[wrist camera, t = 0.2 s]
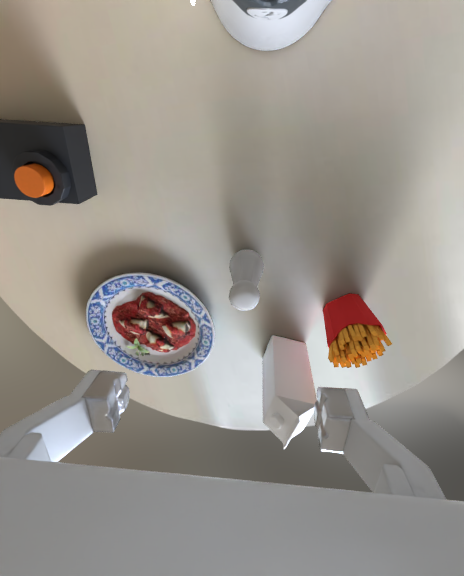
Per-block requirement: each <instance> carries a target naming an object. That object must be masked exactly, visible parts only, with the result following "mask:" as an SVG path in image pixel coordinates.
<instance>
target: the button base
mask: <svg viewBox="0 0 464 576" xmlns="http://www.w3.org/2000/svg"><path fill="white" fill-rule="evenodd" d="M29 164H39V165H42V166H44V167H45V168H46V169H47V170H48V171H49V172H50V173H51V175H52V177H53V179H54V188H53V190H52V191H51V192H50V193H49V194H46V195H43V196H41V197H38V198H32V197H29V196H27V195H25V194H24V193H22V192H21V191H20V189H19V188H18V187H17V185H16V183H15V179H14V174H15V171H16V169H17V168H19V167H21V166H25V165H29ZM95 195H97V190H96V185H95V179H94V174H93V168H92V162H91V157H90V151H89V146H88V140H87V134H86V129H85V125H84V124H69V123H52V122H36V121H19V120H3V119H0V198H3V199H17V200H31V201H33V202H35V203H37V204H39V205H54V204H56V203H72V204H80V203H82V202H84V201H86V200H88V199H90V198H92V197H93V196H95Z"/></svg>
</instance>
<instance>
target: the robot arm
mask: <svg viewBox="0 0 464 576" xmlns="http://www.w3.org/2000/svg"><path fill="white" fill-rule="evenodd" d="M210 1H211V3H212V5H213V7H214V9H215V11H216V14H217V16H218V18H219V19H220V21H221V23H222V24H223V26H224V27H225V29H226V30H227V31H228V32H229V33H230V34H231V35H232V36H233V37H234V38H235V39H236V40H237V41H239V42H240V43H242V44H243V45H245V46H247V47H250V48H252V49H256V50H261V51H272V50H278V49H281V48H284V47H287V46H289V45H291V44H293V43H294V42H296V41H297V40H299V39H300V38H301V37H303V36H304V35H305V34H306V33H307V32H308V31H309V30H310V29H311V28H312V26H313V25H314V24H315V23H316V21H317V20H318V18H319V17H320V15H321V14H322V12H323V11H324V9H325V8H326V7H327V5H328V4H329V3H330V2H331V1H332V0H210ZM190 3H191V4H192V5H195V0H190ZM127 380H128V379H127V375H126V373H123V372H113V371H100V370H90V371H88V372H87V373H86V375H85V376H84V377H83V379H82V380H81V381H80V382H79V384H78V385H77V386H76V388H75V389H74V390H73V391H72V393H71V394H70V395H69V396H65V397H63V398H61V399H59V400H58V401H55V402H54V403H52V404H50V405H48V406H46V407H44V408H43V409H41V410H39V411H37V412H35V413H33V414H31V415H30V416H28V417H26V418H24V419H22V420H21V421H19V422H17V423H15V424H13V425H11V426H9V427H8V428H6V429H4V430H3V432H2V433H1V434H0V576H464V501H454V500H446V498H445V496H444V494H443V492H442V490H441V489H440V487H439V485H438V483H437V481H436V479H435V477H434V475H433V474H432V472H431V470H430V468H429V467H428V466H427V465H426V464H424V463H423V462H422V461H421V460H420V459H418V458H417V457H416V456H415V455H414V454H413V453H411V452H410V451H409V450H408V449H407V448H406V447H404V446H403V445H402V444H401V443H400V442H398V441H397V440H396V439H395V438H394V437H392V436H391V435H390V434H389V433H387V432H386V431H385V430H384V429H383V428H382V427H380V426H379V425H378V424H377V423H376V422H375V421H370V419H369V417H368V414H367V412H366V409H365V407H364V405H363V402H362V400H361V397H360V395H359V392H358V390H356V389H348V388H329V387H318V389H317V398H318V400H317V401H316V402H315V406H314V420H315V426H316V427H317V428H318V429H319V431H318V441H319V445H320V450H321V451H326V452H334V453H343V455H344V457H345V458H346V459H347V460H348V462H349V463H350V464H351V465H352V467H353V468H354V469H355V470H356V472H357V473H358V474H359V475H360V477H361V478H362V479H363V480H364V482H365V483H366V484H367V485H368V486H369V488H370V489H371V490H372V492H373V493H371V492H361V491H350V490H340V489H329V488H318V487H309V486H298V485H288V484H277V483H266V482H256V481H246V480H236V479H225V478H215V477H205V476H195V475H184V474H174V473H163V472H153V471H143V470H132V469H121V468H111V467H101V466H90V465H80V464H69V463H59V462H58V461H59V460H60V459H61V458H63V457H64V456H65V455H66V454H68V453H69V452H70V451H71V450H72V449H74V448H75V447H76V446H77V445H79V444H80V443H81V442H82V441H83V440H85V439H86V438H87V437H88V436H90V435H91V434H92V433H93V432H110V433H113V432H114V430H115V428H116V426H117V425H118V423H119V421H120V415H119V414H121V413H122V412H124V411H125V409H126V407H127V405H128V401H129V395H130V392H129V388H128V387H127V386H126V382H127Z"/></svg>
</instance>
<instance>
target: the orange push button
mask: <svg viewBox="0 0 464 576" xmlns="http://www.w3.org/2000/svg"><path fill="white" fill-rule="evenodd" d="M14 179H15V183H16V185H17V187H18V188H19V189H20V191H21V192H22V193H24V194H25V195H27V196H29V197H32V198H38V197H41V196H43V195H46V194H49V193H50V192H51V191H52V190H53V188H54V179H53V177H52V175H51V173H50V172H49V171H48V170H47V169H46V168H45V167H44V166H42V165H39V164H29V165H25V166H21V167H19V168H17V169H16V171H15V174H14Z"/></svg>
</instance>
